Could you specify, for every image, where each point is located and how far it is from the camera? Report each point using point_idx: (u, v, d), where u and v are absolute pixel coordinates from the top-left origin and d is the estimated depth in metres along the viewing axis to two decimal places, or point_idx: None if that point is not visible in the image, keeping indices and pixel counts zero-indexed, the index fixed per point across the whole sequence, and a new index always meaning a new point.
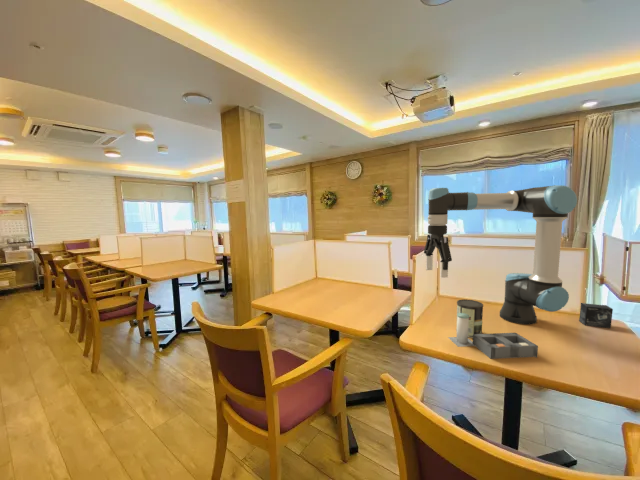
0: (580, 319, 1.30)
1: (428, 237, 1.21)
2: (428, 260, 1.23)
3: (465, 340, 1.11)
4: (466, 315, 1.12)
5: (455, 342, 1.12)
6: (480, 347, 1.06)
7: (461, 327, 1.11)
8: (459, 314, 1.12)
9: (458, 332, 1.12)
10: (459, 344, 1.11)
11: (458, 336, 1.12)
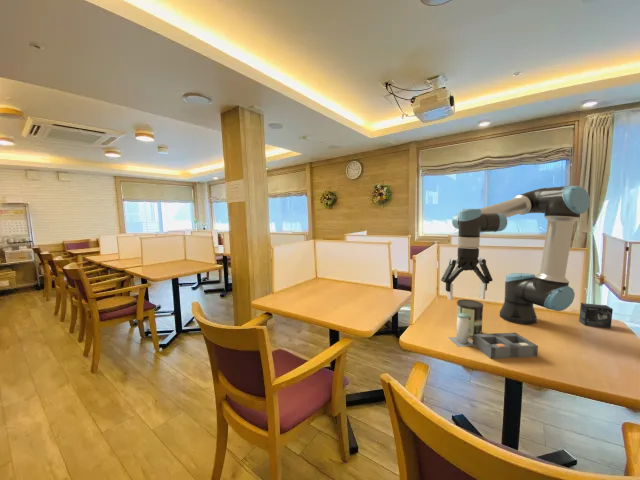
0: (580, 319, 1.30)
1: None
2: (480, 287, 1.11)
3: (465, 340, 1.11)
4: (466, 315, 1.12)
5: (455, 342, 1.12)
6: (480, 347, 1.06)
7: (461, 327, 1.11)
8: (459, 314, 1.12)
9: (458, 332, 1.12)
10: (459, 344, 1.11)
11: (458, 336, 1.12)
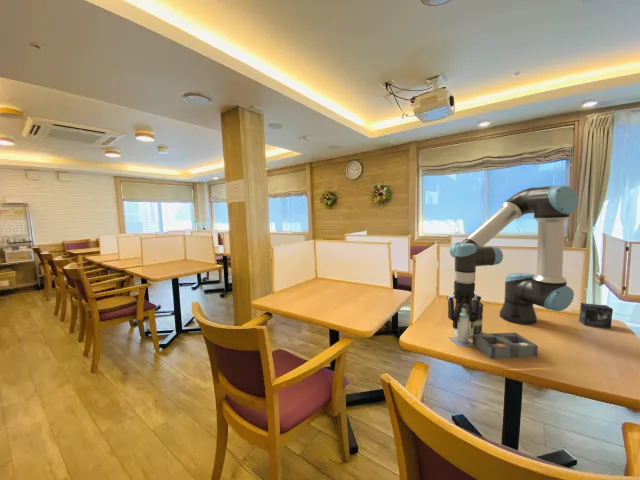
0: (580, 319, 1.30)
1: None
2: None
3: (465, 340, 1.11)
4: (466, 315, 1.12)
5: (455, 342, 1.12)
6: (480, 347, 1.06)
7: (461, 327, 1.11)
8: None
9: None
10: (459, 344, 1.11)
11: None
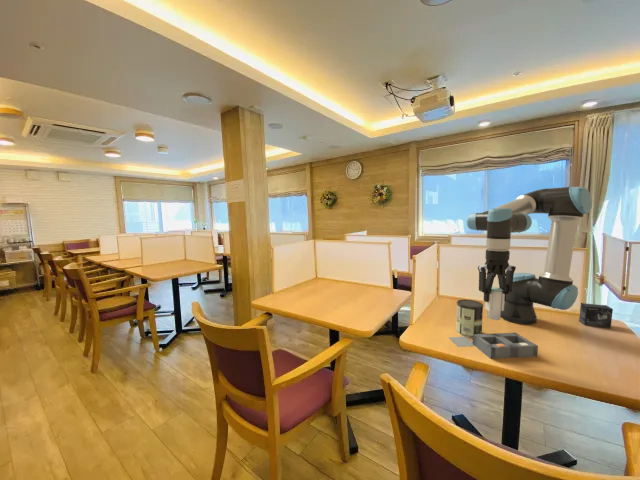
0: (580, 319, 1.30)
1: None
2: None
3: (498, 316, 1.02)
4: (499, 288, 1.02)
5: (455, 342, 1.12)
6: (480, 347, 1.06)
7: (494, 301, 1.01)
8: None
9: None
10: (459, 344, 1.11)
11: (490, 312, 1.03)
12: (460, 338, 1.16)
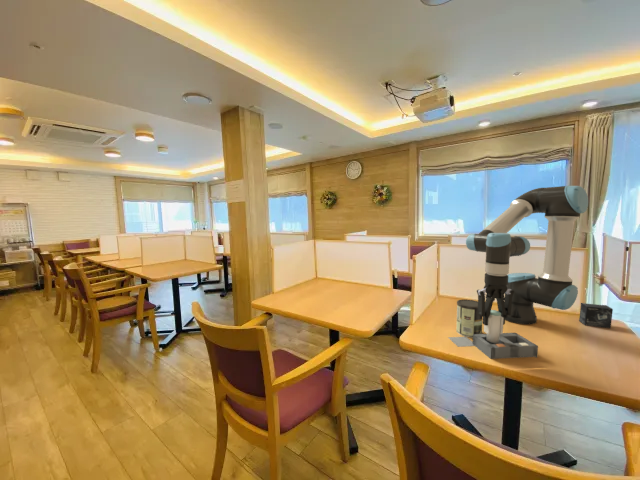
0: (580, 319, 1.30)
1: None
2: None
3: (497, 339, 1.03)
4: (498, 312, 1.03)
5: (455, 342, 1.12)
6: (480, 347, 1.06)
7: (493, 325, 1.03)
8: None
9: None
10: (459, 344, 1.11)
11: (489, 335, 1.04)
12: (460, 338, 1.16)
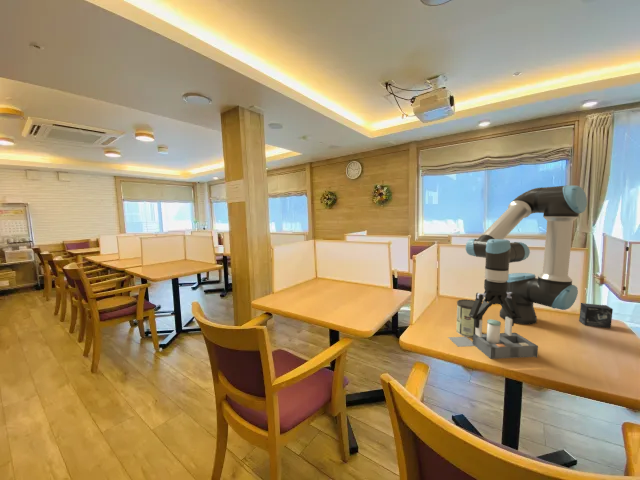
0: (580, 319, 1.30)
1: None
2: (506, 322, 1.05)
3: None
4: (498, 321, 1.04)
5: (455, 342, 1.12)
6: (480, 347, 1.06)
7: (492, 335, 1.03)
8: (489, 321, 1.05)
9: (488, 340, 1.04)
10: (459, 344, 1.11)
11: None
12: (460, 338, 1.16)
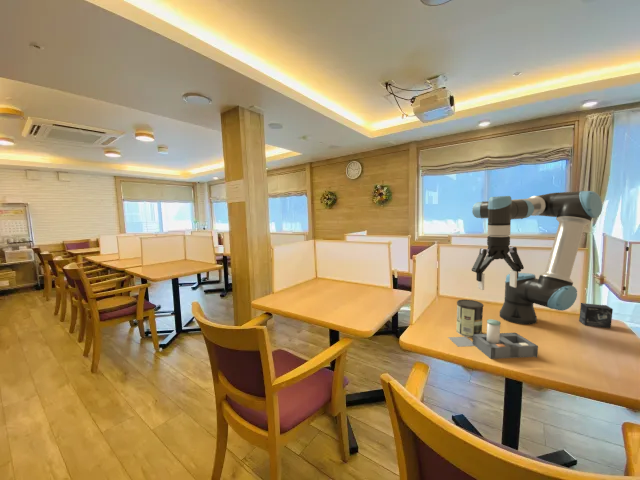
0: (580, 319, 1.30)
1: None
2: (511, 275, 1.09)
3: None
4: (497, 321, 1.04)
5: (455, 342, 1.12)
6: (480, 347, 1.06)
7: (492, 335, 1.03)
8: (489, 321, 1.05)
9: (488, 340, 1.04)
10: (459, 344, 1.11)
11: None
12: (460, 338, 1.16)
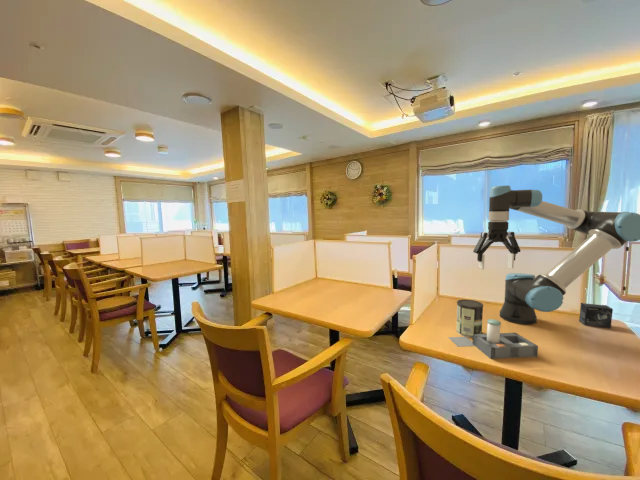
0: (580, 319, 1.30)
1: None
2: (509, 258, 1.22)
3: None
4: (498, 321, 1.04)
5: (455, 342, 1.12)
6: (480, 347, 1.06)
7: (492, 334, 1.03)
8: (490, 320, 1.05)
9: (488, 340, 1.04)
10: (459, 344, 1.11)
11: None
12: (460, 338, 1.16)
